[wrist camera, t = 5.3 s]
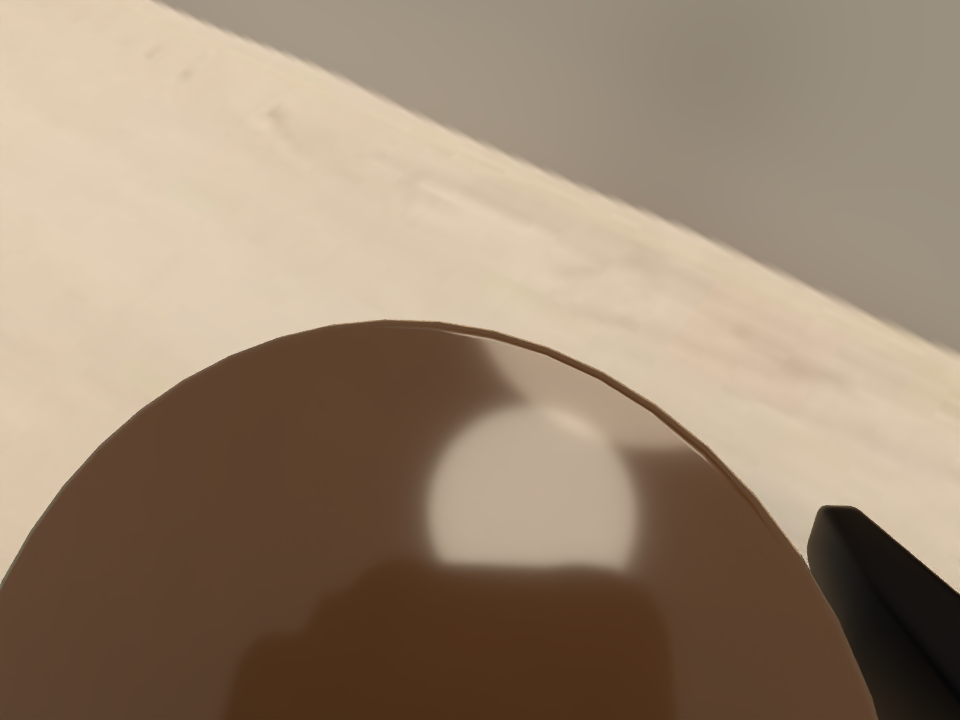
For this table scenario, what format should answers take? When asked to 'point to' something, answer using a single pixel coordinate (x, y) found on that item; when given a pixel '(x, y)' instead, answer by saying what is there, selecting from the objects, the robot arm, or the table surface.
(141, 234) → the table surface
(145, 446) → the spice jar
